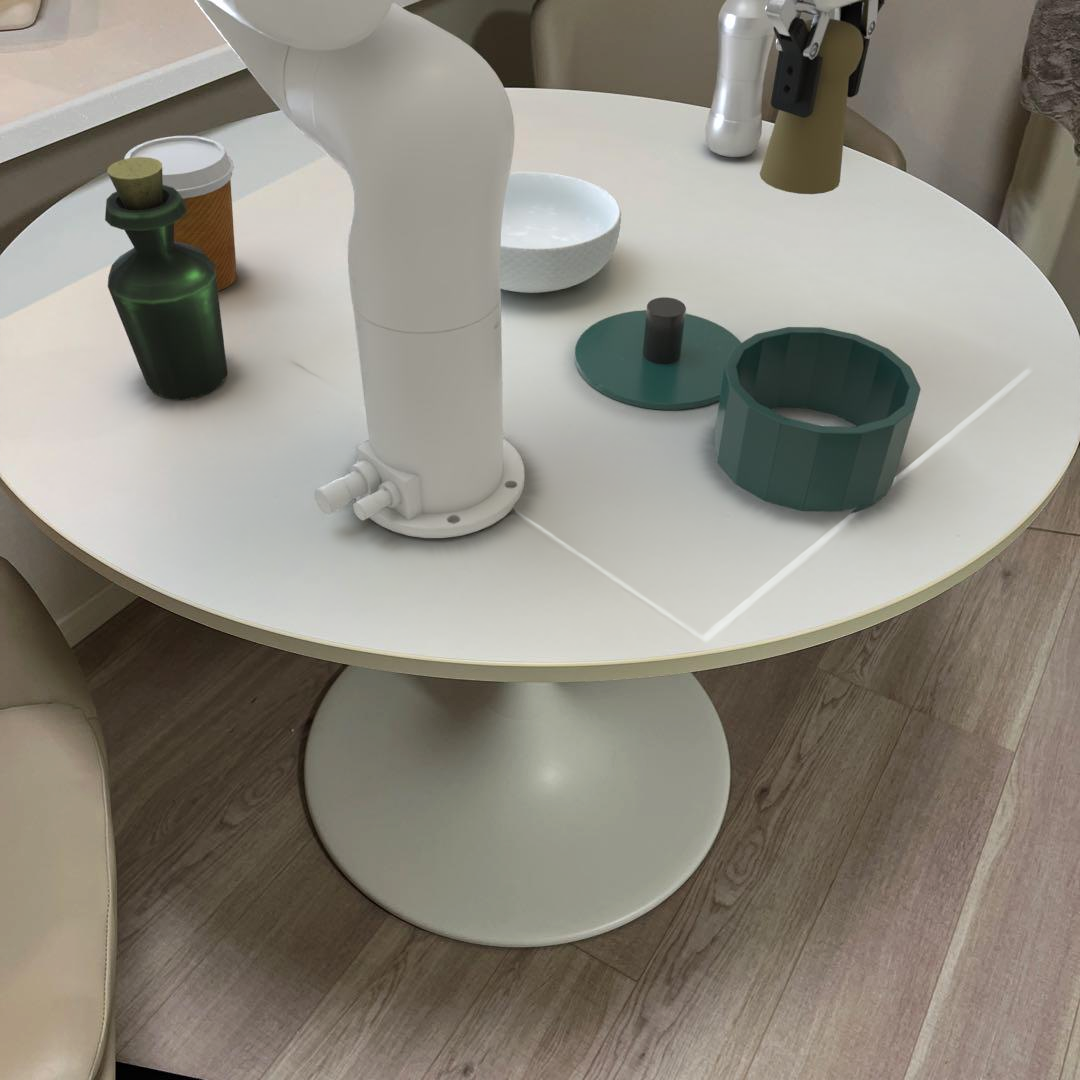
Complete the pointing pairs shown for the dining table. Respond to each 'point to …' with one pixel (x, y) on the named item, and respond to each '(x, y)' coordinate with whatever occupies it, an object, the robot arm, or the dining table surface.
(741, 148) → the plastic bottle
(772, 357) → the pot
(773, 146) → the olive brown pawn
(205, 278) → the potion bottle
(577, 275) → the cereal bowl
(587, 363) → the lid
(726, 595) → the dining table surface
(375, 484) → the robot arm
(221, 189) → the disposable coffee cup
